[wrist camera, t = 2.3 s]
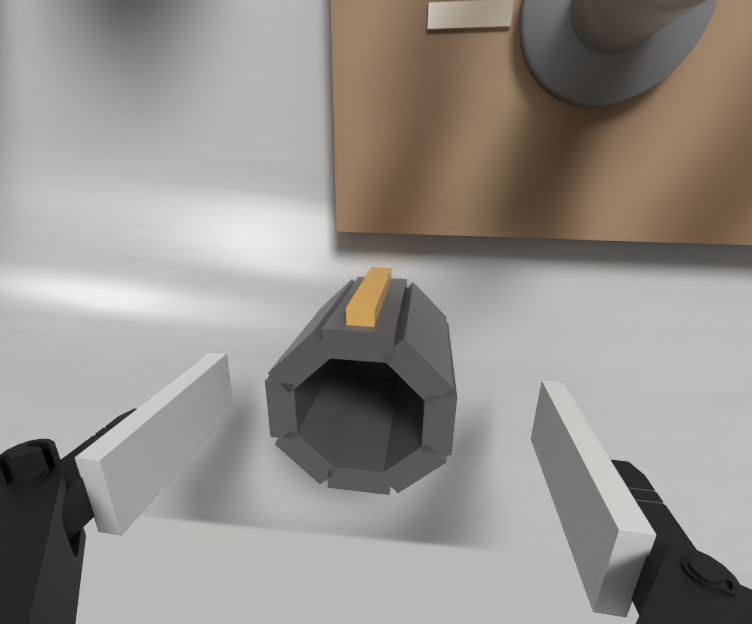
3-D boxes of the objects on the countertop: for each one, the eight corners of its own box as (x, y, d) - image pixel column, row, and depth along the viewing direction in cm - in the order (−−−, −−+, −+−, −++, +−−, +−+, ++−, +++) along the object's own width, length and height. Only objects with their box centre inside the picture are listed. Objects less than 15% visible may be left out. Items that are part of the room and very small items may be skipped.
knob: (321, 390, 22) (275, 481, 16) (315, 262, 19) (257, 307, 13) (441, 400, 21) (446, 501, 15) (452, 268, 19) (465, 319, 12)
